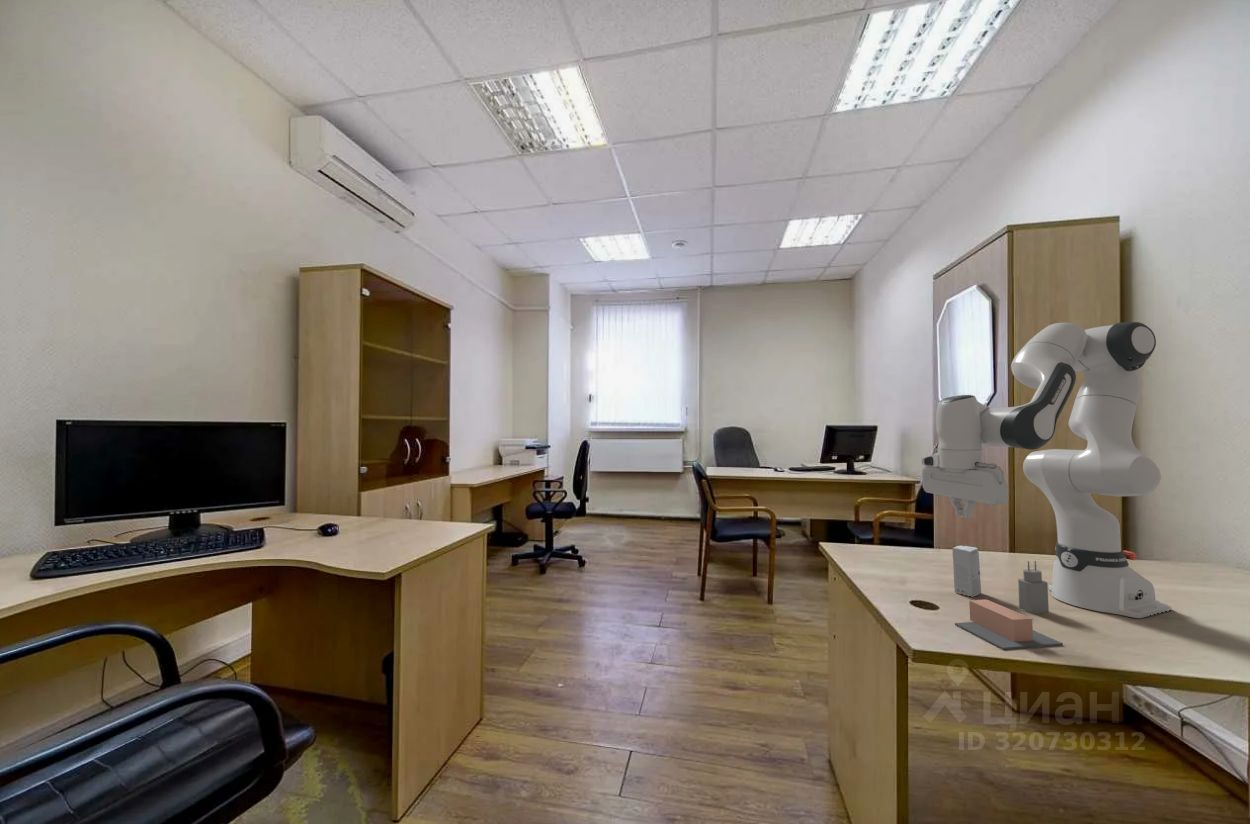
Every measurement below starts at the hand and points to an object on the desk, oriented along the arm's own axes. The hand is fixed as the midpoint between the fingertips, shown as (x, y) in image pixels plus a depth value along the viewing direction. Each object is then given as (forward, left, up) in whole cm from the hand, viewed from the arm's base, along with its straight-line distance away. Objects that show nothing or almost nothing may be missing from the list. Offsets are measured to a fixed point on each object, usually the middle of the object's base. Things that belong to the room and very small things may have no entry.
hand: (963, 516), depth 105 cm
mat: (+2, +11, -23) cm, 26 cm away
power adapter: (-17, +1, -23) cm, 29 cm away
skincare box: (-11, -11, -23) cm, 28 cm away
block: (+2, +5, -20) cm, 21 cm away
